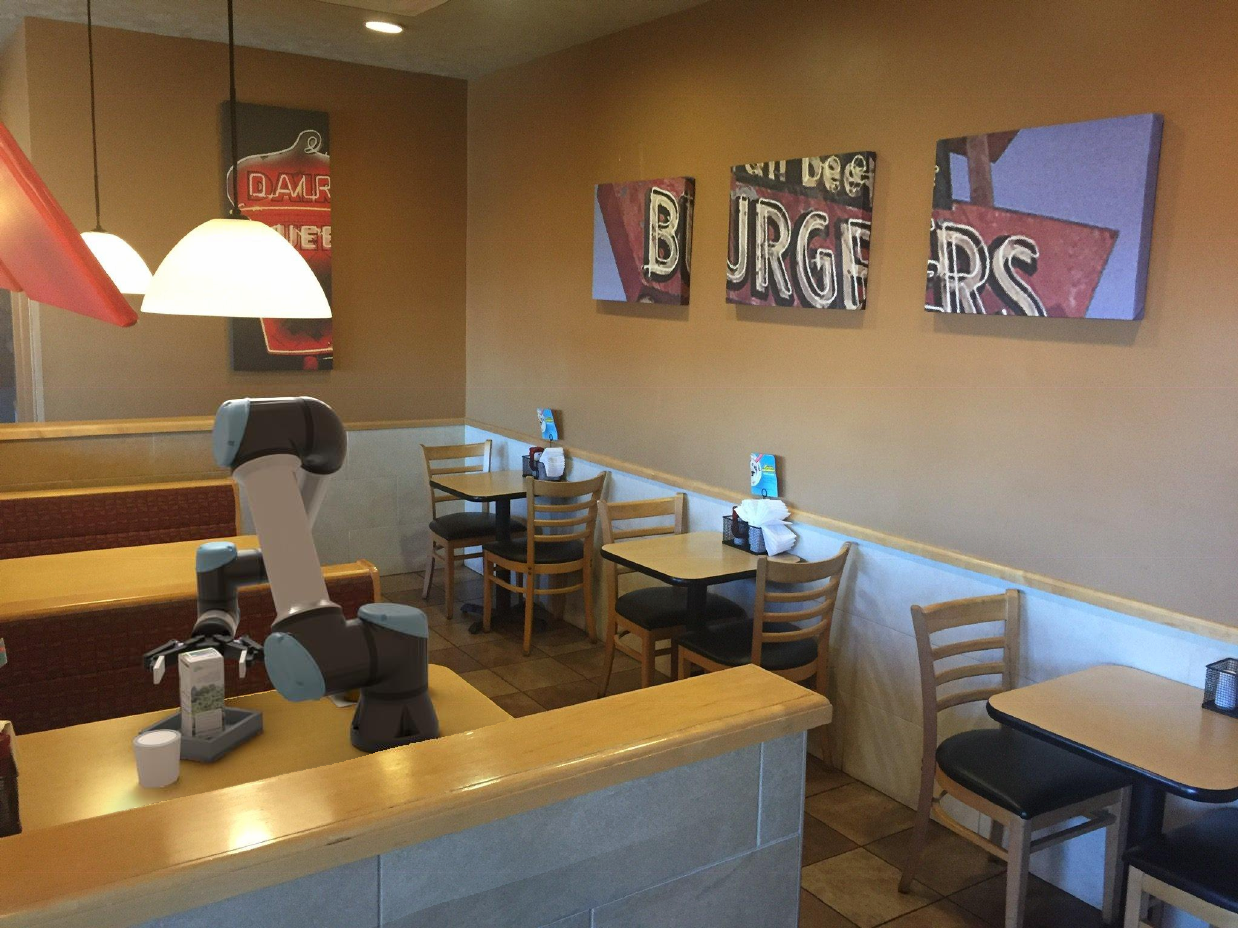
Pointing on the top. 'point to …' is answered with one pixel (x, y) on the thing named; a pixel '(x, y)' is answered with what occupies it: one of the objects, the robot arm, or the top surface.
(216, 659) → the syrup box
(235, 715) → the tray
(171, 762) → the white cup
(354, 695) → the condiment
